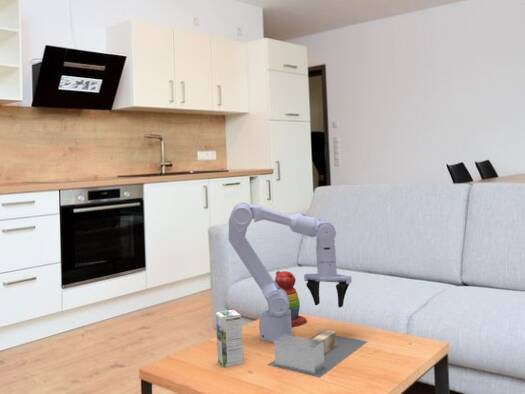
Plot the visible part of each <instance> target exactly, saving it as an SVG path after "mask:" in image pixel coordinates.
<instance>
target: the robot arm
mask: <svg viewBox="0 0 525 394" xmlns="http://www.w3.org/2000/svg"><path fill="white" fill-rule="evenodd" d="M252 221H253V222H254V223H257V222H260V221H267V222H272V223H276V224H280V225H284V226H287V227H289V228H290V230H291V232H293V233H295V234H299V235H303V236H307V237H309V238H315V237H316V238H315V241H316V242H315V243H316V246H315V250H316V251H315V253H316V267H317V268H316V270H317V271H316V272H317V273H305V274H303V278H304V279H303V280H304V282H306V283H305V285H306V287H307V289H308V291H309V292H310V294H311V297H312V300H313V303H314V306H318V305H320V302H321V301H320V298H321V297H320V284H321V283H320V282H323V283H325V282H326V283H336V284H335V288H336V293H337V306H338V308H342V307H343V306H344V302H345V296H346V294H347V291H348V288H349V285H350V284H351V283H353V281H352V275H345V274H338V272H337V271H338V270H337V255H336V245H335V243H336V242H335V238H336V237H337V231H336V228H335V226H334V225H333V224H332V223H330V221H328V220H326V219H322V218H321V217H317V218H316V217H312V216H308V215H307V213H305V212H303V211H302V212H301V213H298V212H297V213H296V214H293V215H290V214H287V213H285V212H284V213H283V212H281V211H279V210H275V209H271V208H269V207H265V206H262V205H257V204H248V203H245V202H240V203H237V204H236V205H235V206H234V207H233V208H232V211H231V213H230V215H229V218H228V242H229V243H230V245H231V246H232V248H233V249H234V251H235V252H236V254H237V256H238V257H239V258H240V260H241V261H242V263H243V265H244V266H245V268H246V270H248V272H249V274H250V276H252V278H253V280H254V282H255V283H256V284H257V286H258V287H259V288H260V290H261V293H262V295H263V297H264V299H265V301H266V302H267V307H268V310H264V311H263V312H262V313H261V315H259V319H258V320H259V321H258V322H259V323H258V324H259V326H258V327H259V339H260V340H263V341H266V342H267V341H268V342H270V343H273V344H274V340H275V339H277V338H279V337H281V336H283V335H290V336H293V331H292V330H293V327H292V325H291V310H289V307H290V304H289V301H288V295H287V293H286V291H285V290H284V289H282V288H280V287H279V286H278V285H277V283H276V282H275V279H273V277H272V275H271V274H270V273H269V271H268V269H267V268H266V266H265V265H264V264H263V262H262V260H261V259H260V258H259V256H258V255H257V253H256V252H255V250H254V248H253V247H252V245H251V243H250V242H249V241H248V239H247V238H246V235H247V231H248V228H249V226H250V224H251V223H252Z"/></svg>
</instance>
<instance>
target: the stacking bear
mask: <svg viewBox="0 0 525 394" xmlns="http://www.w3.org/2000/svg"><path fill="white" fill-rule="evenodd" d="M275 275H276V276H275V278H274V281H275V282H276V283H277V285H278V286H279V287H280V288H282V289H284V290H285V291H286V293H287V295H288V301H289V304H290V307H289V310H291V325H292V328H293V327H299V326H302V325H305V324H306V323H308V321H307V318H306V317H304V316H302V315H300V308H301V307H300V306H301V305H300V298H299V295H298V294H299V293H298V291H297V290H296V288H295V284H296V281H297V280H296V277H295V276H294V274H293V273H292V272H291V271H288V270H287V271H280V270H278V271H276V273H275Z"/></svg>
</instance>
